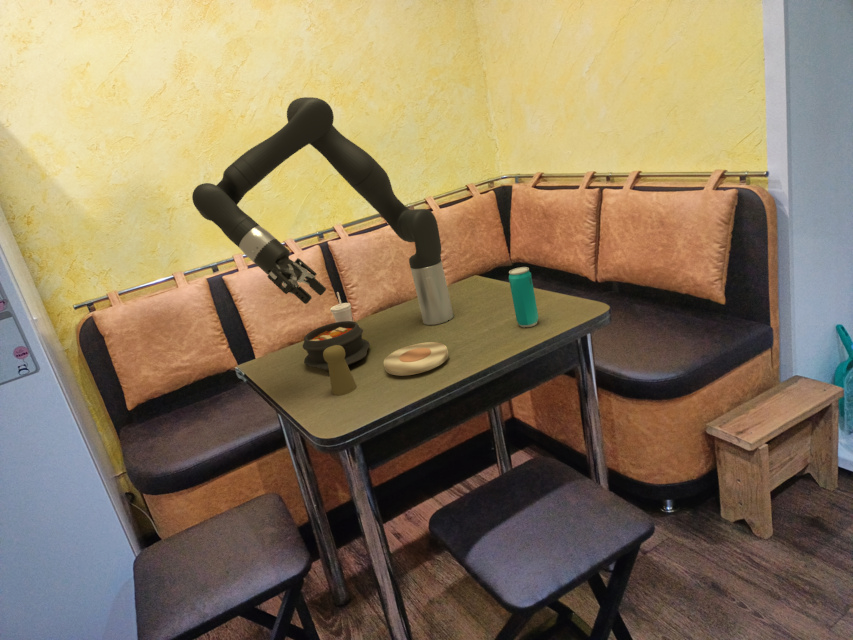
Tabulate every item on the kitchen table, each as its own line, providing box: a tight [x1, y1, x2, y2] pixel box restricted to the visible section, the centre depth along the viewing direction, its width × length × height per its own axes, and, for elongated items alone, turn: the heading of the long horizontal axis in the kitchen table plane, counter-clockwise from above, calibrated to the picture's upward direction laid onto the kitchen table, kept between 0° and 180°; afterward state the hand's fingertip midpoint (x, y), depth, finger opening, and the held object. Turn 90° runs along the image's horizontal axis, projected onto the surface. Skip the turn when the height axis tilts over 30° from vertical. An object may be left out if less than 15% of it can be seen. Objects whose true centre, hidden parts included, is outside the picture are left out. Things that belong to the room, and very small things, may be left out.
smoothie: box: [330, 291, 353, 323], centre depth 181 cm, size 6×6×14 cm
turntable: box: [383, 341, 449, 376], centre depth 148 cm, size 16×16×3 cm
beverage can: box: [508, 266, 539, 329], centre depth 155 cm, size 6×6×15 cm
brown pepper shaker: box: [323, 345, 357, 396], centre depth 142 cm, size 6×6×11 cm
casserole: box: [302, 320, 371, 371], centre depth 164 cm, size 25×19×8 cm
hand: (316, 296), depth 139 cm, fingers open, 8 cm apart
